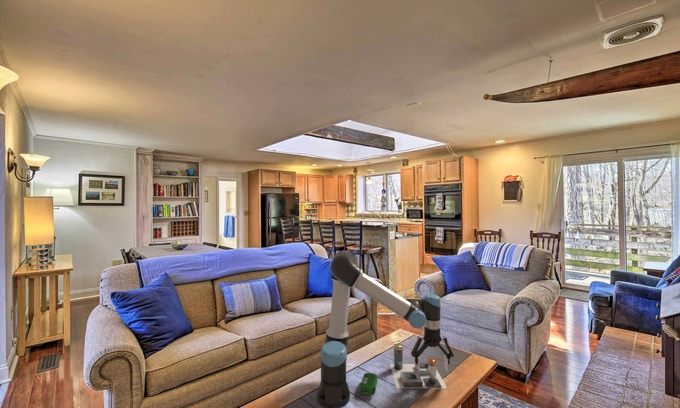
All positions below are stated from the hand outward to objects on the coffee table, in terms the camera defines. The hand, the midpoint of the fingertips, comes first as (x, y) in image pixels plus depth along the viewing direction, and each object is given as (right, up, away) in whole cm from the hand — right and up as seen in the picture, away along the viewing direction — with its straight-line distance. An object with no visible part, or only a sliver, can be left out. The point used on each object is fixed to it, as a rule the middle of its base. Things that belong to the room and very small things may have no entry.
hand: (432, 370), depth 153 cm
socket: (-1, -6, +11) cm, 13 cm away
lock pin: (0, -6, 0) cm, 6 cm away
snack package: (-31, -8, -3) cm, 32 cm away
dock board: (-6, -7, +7) cm, 12 cm away
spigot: (-14, -6, +14) cm, 21 cm away
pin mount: (-10, -6, +1) cm, 12 cm away
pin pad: (0, -6, 0) cm, 6 cm away
